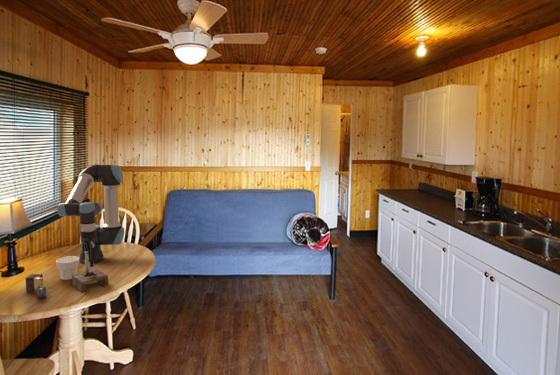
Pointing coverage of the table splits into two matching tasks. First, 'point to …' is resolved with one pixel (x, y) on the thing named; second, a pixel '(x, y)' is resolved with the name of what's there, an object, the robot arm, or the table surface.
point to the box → (31, 281)
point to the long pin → (87, 265)
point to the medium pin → (38, 283)
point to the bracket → (88, 279)
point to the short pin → (41, 293)
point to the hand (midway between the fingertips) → (89, 270)
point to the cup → (67, 266)
